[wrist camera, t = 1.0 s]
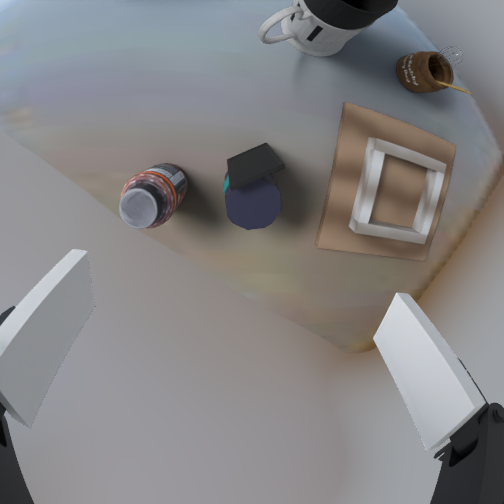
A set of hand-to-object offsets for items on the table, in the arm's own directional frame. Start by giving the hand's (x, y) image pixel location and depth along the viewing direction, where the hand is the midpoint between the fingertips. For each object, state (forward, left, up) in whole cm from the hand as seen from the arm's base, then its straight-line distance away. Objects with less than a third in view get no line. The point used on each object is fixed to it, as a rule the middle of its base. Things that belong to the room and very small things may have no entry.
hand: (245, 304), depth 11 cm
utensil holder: (-20, +21, -26) cm, 39 cm away
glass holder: (-20, +4, -26) cm, 33 cm away
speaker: (0, +1, -26) cm, 26 cm away
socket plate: (-2, +21, -26) cm, 34 cm away
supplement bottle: (+2, -10, -26) cm, 28 cm away
